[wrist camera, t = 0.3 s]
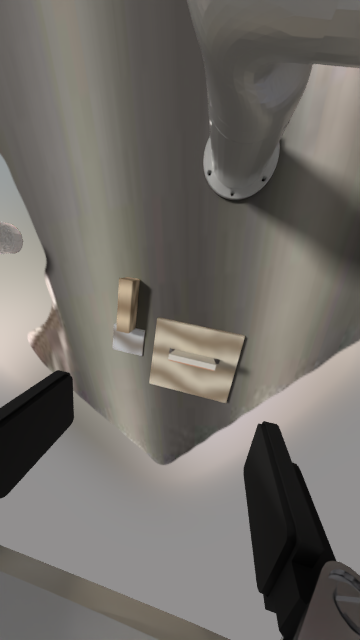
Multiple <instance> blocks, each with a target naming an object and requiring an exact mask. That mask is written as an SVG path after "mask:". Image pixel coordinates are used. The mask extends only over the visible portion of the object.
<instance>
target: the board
mask: <svg viewBox="0 0 360 640" xmlns="http://www.w3.org/2000/svg"><path fill="white" fill-rule="evenodd" d="M244 338H245V336H244V335H240V334H235V333H230V332H225V331H221V330H216V329H211V328H207V327H202V326H197V325H192V324H188V323H183V322H178V321H173V320H169V319H164V318H157V326H156V334H155V342H154V350H153V358H152V366H151V374H150V382H149V383H150V384H154V385H158V386H162V387H166V388H170V389H174V390H177V391H181V392H185V393H189V394H193V395H197V396H201V397H204V398H208V399H212V400H216V401H220V402H224V403H226V401H227V398H228V394H229V391H230V387H231V384H232V380H233V377H234V373H235V370H236V366H237V363H238V359H239V356H240V352H241V349H242V345H243V342H244ZM174 350H181V351H185V352H189V353H194V354H198V355H202V356H207V357H211V358H214V361H215V364H216V368H215V370H214V371H211V370H207V369H203V368H198V367H194V366H190V365H186V364H182V363H178V362H173V361H169V359H168V357H169V354H170V353H171V352H173V351H174Z"/></svg>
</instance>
